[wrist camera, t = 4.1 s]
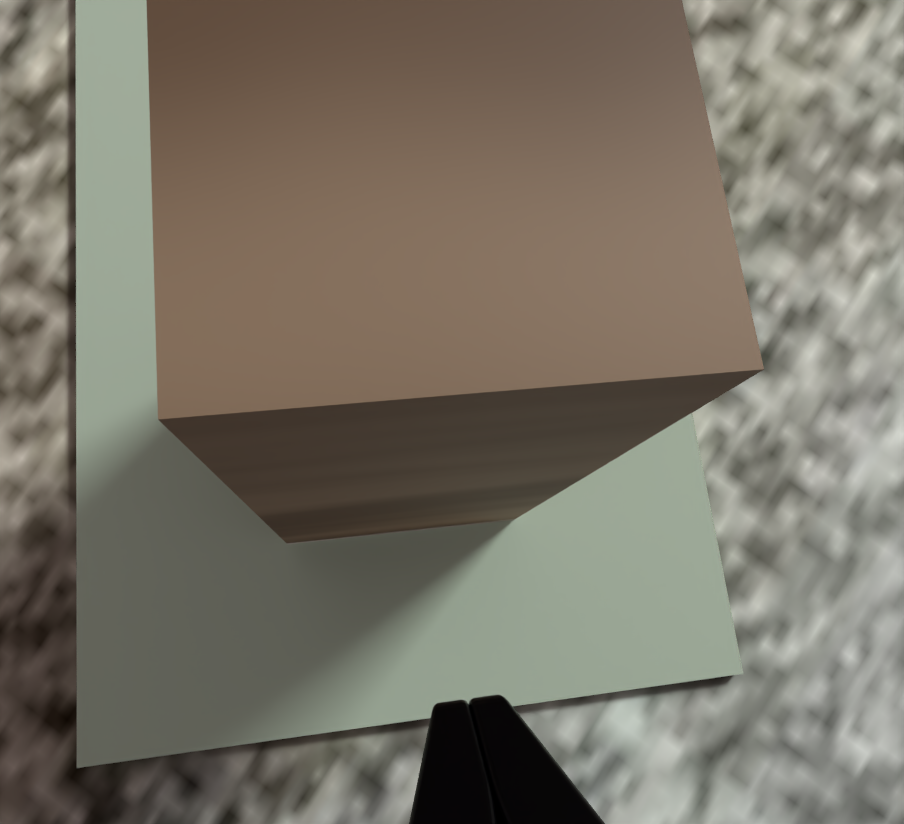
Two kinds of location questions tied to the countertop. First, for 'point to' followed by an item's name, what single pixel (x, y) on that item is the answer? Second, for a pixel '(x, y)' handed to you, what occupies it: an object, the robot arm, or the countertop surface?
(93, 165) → the mat
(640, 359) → the block
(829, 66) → the countertop surface
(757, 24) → the countertop surface
